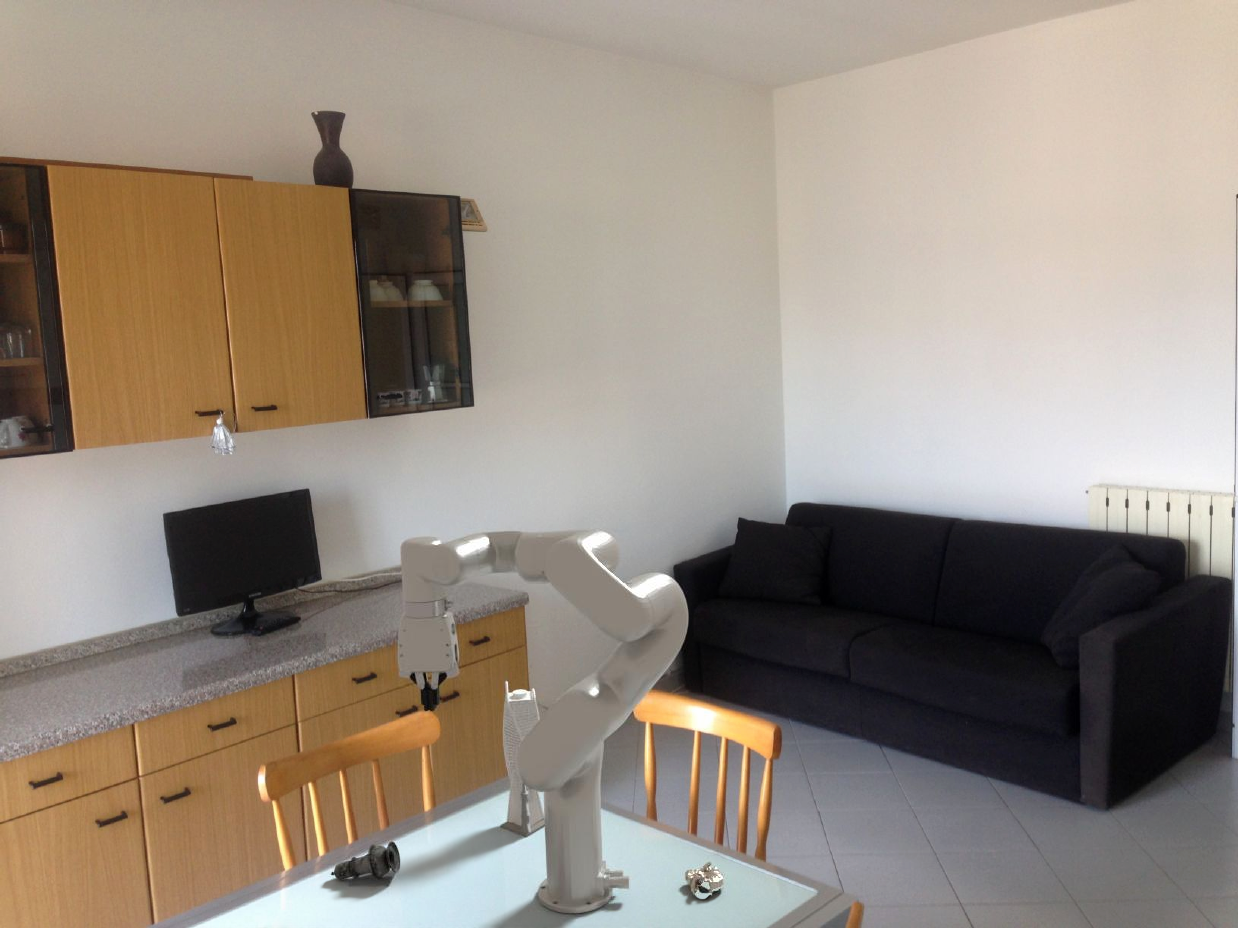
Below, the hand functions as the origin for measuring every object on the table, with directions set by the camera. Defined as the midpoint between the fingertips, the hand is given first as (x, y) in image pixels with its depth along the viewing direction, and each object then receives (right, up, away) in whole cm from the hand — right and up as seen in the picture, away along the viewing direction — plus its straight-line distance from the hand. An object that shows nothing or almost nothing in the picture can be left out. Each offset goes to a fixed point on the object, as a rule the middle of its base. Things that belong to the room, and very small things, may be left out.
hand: (430, 708), depth 184 cm
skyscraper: (+15, -27, +18) cm, 36 cm away
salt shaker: (-6, -26, -2) cm, 26 cm away
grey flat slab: (-10, -30, -1) cm, 31 cm away
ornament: (+48, -29, -8) cm, 57 cm away
